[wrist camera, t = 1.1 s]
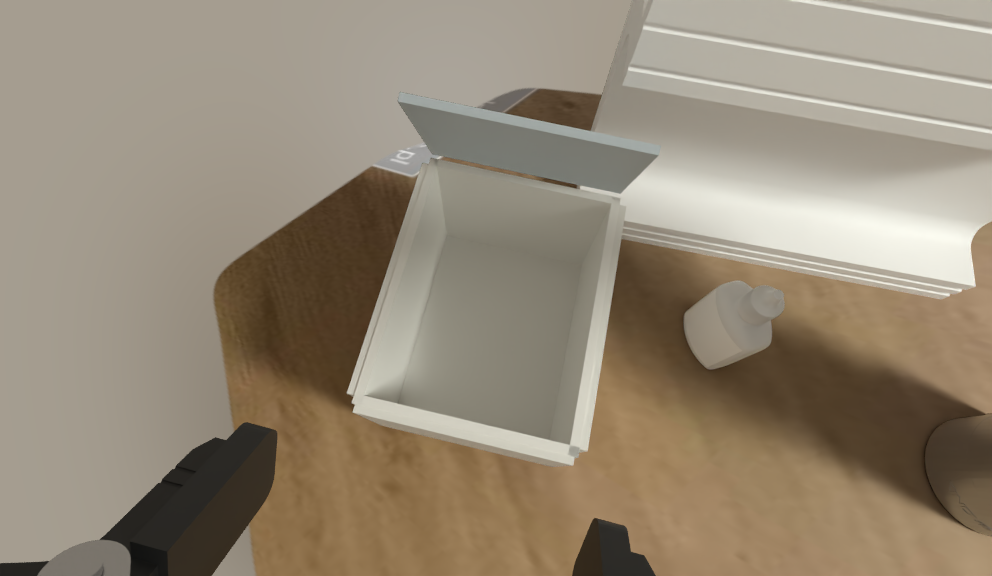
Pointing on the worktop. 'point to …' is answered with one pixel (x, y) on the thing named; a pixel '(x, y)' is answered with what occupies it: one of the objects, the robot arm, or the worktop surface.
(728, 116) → the white magazine holder
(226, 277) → the worktop surface
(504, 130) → the carton flap
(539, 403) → the carton
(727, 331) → the eye dropper bottle
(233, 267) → the worktop surface
